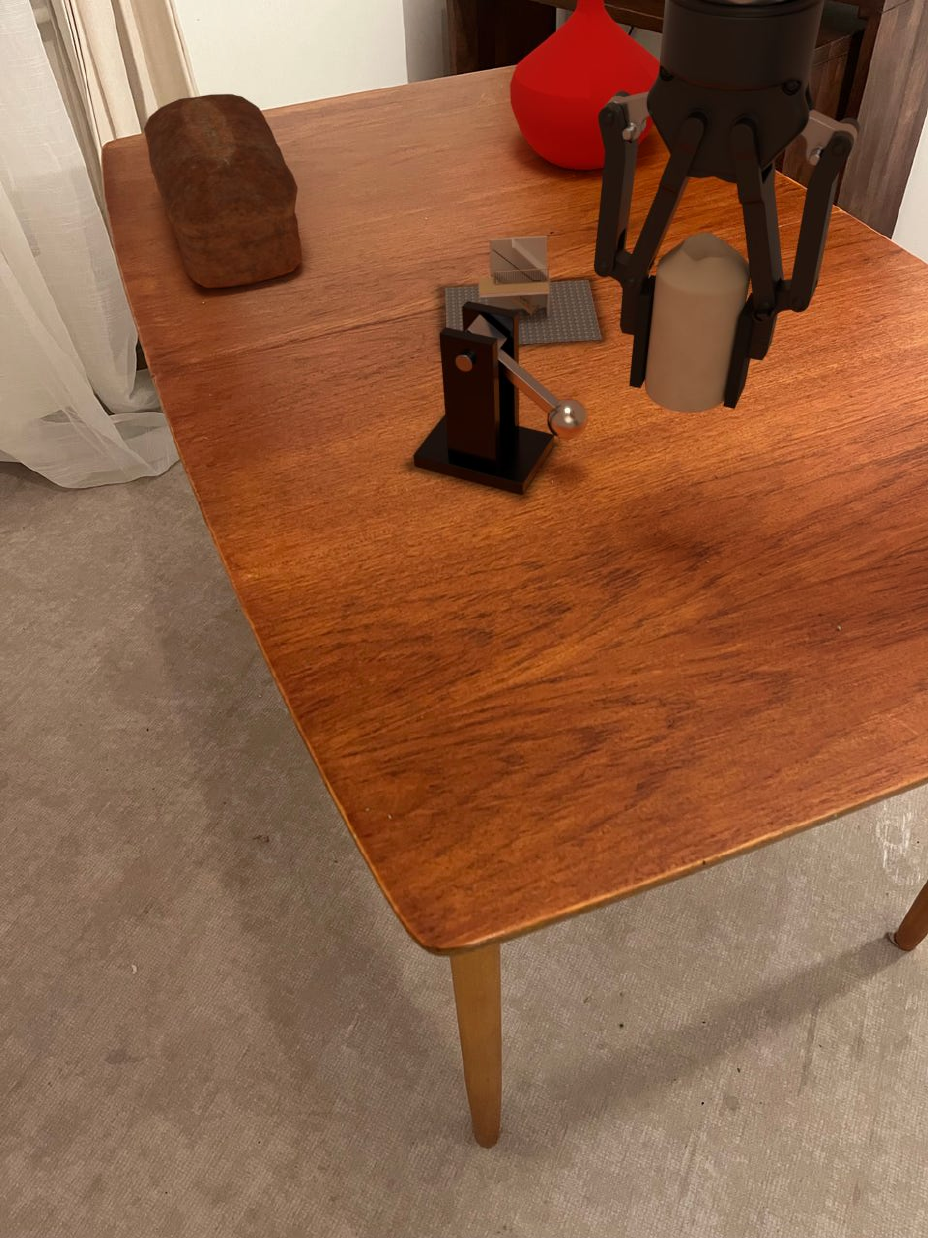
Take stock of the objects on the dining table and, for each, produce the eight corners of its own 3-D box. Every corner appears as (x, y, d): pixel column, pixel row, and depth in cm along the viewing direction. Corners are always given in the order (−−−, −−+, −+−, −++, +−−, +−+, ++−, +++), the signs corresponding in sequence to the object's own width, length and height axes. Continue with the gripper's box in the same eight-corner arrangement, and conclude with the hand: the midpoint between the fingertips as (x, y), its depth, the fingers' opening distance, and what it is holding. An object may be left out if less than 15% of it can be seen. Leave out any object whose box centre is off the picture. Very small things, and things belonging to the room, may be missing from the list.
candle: (741, 407, 63) (771, 261, 55) (658, 419, 62) (677, 273, 55) (712, 359, 66) (736, 216, 59) (633, 371, 66) (647, 228, 59)
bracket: (554, 445, 84) (557, 311, 75) (522, 495, 80) (522, 360, 71) (449, 419, 87) (440, 287, 78) (414, 465, 83) (399, 332, 74)
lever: (578, 431, 80) (601, 410, 77) (563, 454, 78) (587, 433, 75) (465, 332, 78) (485, 307, 75) (447, 353, 76) (467, 328, 73)
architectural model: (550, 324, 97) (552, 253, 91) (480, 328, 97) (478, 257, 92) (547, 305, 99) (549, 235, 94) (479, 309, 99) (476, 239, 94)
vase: (485, 144, 126) (480, -29, 112) (606, 112, 131) (616, -57, 116) (558, 200, 115) (562, 16, 100) (688, 162, 120) (710, -18, 105)
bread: (269, 174, 123) (249, 68, 114) (319, 280, 105) (300, 164, 96) (158, 195, 120) (128, 88, 111) (190, 307, 102) (157, 191, 93)
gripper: (961, -31, 46) (842, 383, 64) (589, -58, 52) (573, 329, 69) (942, 21, 42) (819, 452, 59) (537, -15, 48) (533, 387, 65)
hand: (687, 385), depth 64 cm, fingers closed on candle, 5 cm apart
